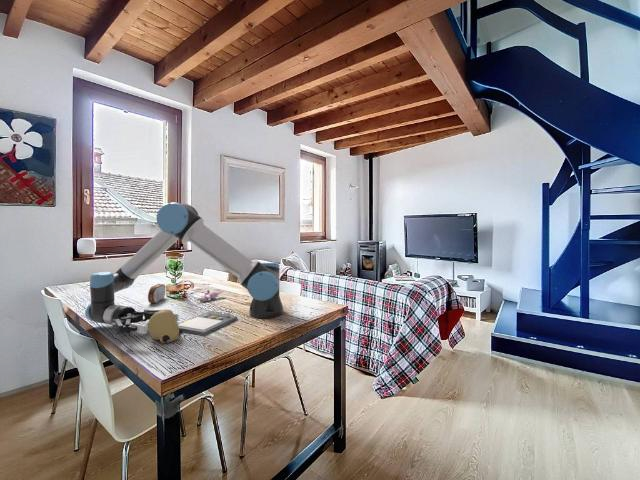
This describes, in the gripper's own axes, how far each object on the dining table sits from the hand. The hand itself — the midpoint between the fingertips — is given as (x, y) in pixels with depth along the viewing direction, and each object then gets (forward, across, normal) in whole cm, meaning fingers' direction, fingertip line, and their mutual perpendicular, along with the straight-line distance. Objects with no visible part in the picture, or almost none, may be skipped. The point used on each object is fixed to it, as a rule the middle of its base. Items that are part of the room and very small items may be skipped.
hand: (162, 323), depth 110 cm
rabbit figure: (-22, -49, -6) cm, 54 cm away
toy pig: (+1, 0, -6) cm, 6 cm away
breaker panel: (+3, -18, -6) cm, 19 cm away
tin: (-44, -36, -6) cm, 58 cm away
